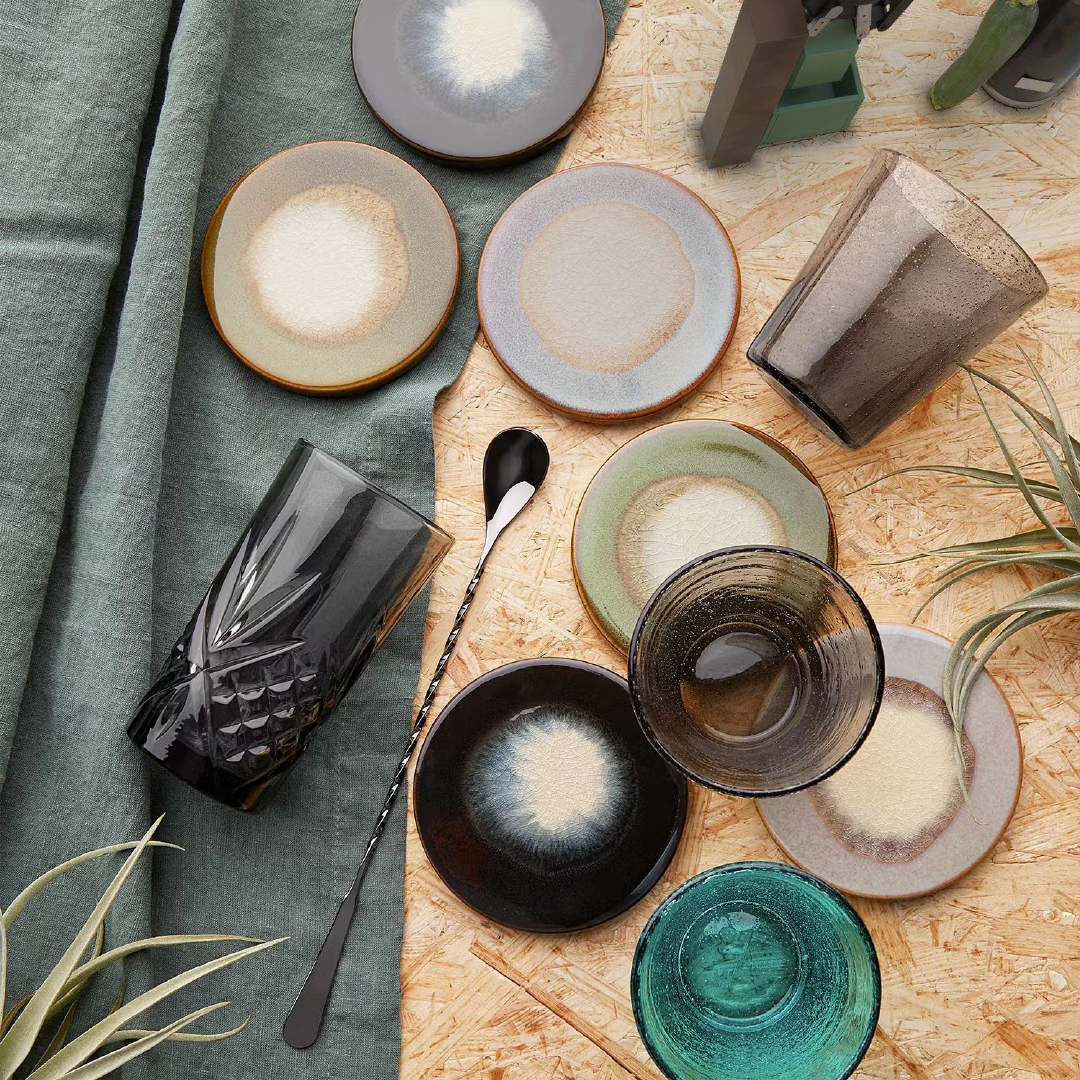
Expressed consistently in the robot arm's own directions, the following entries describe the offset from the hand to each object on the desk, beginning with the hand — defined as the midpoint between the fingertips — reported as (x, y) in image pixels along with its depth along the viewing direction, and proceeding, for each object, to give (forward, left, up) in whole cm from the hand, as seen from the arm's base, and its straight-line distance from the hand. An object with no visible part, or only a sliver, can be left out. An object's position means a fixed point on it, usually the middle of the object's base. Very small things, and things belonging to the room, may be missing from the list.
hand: (811, 58), depth 90 cm
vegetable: (-15, +4, -6) cm, 17 cm away
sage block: (0, 0, 0) cm, 0 cm away
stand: (+8, +4, -6) cm, 11 cm away
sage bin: (0, 0, -6) cm, 6 cm away
